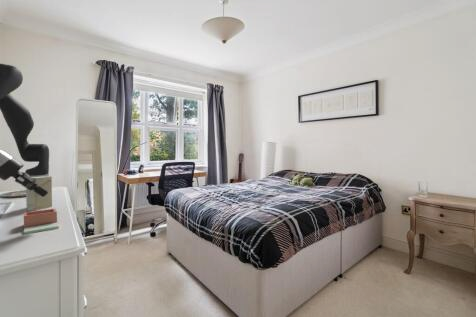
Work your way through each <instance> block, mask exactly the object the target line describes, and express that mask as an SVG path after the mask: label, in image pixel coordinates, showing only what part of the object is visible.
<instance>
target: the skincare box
mask: <svg viewBox="0 0 476 317" xmlns="http://www.w3.org/2000/svg"><path fill="white" fill-rule="evenodd" d="M31 178H32V179H33V180H34V181H35V183H36V184H38V185H39V186H40V187H41V188H43V189H44V190H46V191H47V192H48V193H47V194H46V195H45V196H44V197H42V196H41V195H39V194H38V193H36V192H34V191H31V190H29V189H28V188H27V204H26V210H27V211H40V210H47V209H51V208H53V186H52V185H53V184H52V183H53V182H52V178H53V177H52V176H41V177H31ZM32 185H33V184H32ZM32 185H31V186H32ZM31 186H30V187H31Z"/></svg>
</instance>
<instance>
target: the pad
mask: <svg viewBox="0 0 476 317" xmlns="http://www.w3.org/2000/svg"><path fill="white" fill-rule="evenodd" d="M59 228H60V226H59V224H58V222H57V223H51V224H44V225H38V226H32V227H26V228H24V227H23V235H26V234H33V233H39V232H44V231H49V230H55V229H59Z"/></svg>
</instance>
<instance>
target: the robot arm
mask: <svg viewBox="0 0 476 317" xmlns="http://www.w3.org/2000/svg"><path fill="white" fill-rule="evenodd" d="M23 77H24V76H23V74H22V71H21V70H20V69H19V67H16V66H13V65H11V64H5V63H0V112H1V113H2V116H3V119H4V120H5V121H4V122H5V123H6V125H7V127H8V129H9V130H10V132H11V135H12V137H13V139H14V141H15V144H16V148H17V150H18V152H19V153H18V154H19V156H20V158H21V159H22V160H23V161H24V162H28V163H29V162H30V163H32V162H33V163H35V162H36V163H37V162H38V164H37V165H36V166H33V167H31V168H27V169H26V170H25V172H23V171H22V172H21V171H20V170H21V169H23V167H24V164H23V163H22V162H21V161H19V160H18V159H16V158H15V157H13V156H11V155H10V154H9V153H7V152H6V151H4V150H2V149H0V179H1V180H2V181H6V180H8V179H10V178H11V177H12V178H13V179H15V180H14V182H15V183H17V184H18V185H21V186H22V187H24V188H25V193H26V197H25V198H26V199H25V201H26V202H25V203H26V205H27V188H28V189H29V190H31V191H34V192H36V193H38V194H39V195H41V196H42V197H44V196H45V195H46V194H47V193H48V192H47V191H46V190H44V189H43V188H41V187H40V186H39V185H38V184H36V183H35V181H34V180H33V179H32V178H31V177H41V176H49V173H50V170H49V169H50V150H49V146H48V144H44V143H29V142H28V137H29V136H30V135H29V134H31V133H32V131H33V128H34V126H35V123H34V122H35V121H34V119H33V117H32V114H31V112H30V111H29V109H28V108H27V107H26V106H25V105H24V104H23V103H22V102H20V100H18V99H17V98H15V97H14V96H13V94H11V93H12V92H15V90H17V89H18V88H20V86H21V85H22V84H23V81H24V78H23ZM32 184H33V185H32ZM31 185H32V186H31ZM30 186H31V187H30Z"/></svg>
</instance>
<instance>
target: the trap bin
mask: <svg viewBox="0 0 476 317" xmlns="http://www.w3.org/2000/svg"><path fill="white" fill-rule="evenodd" d="M51 223H58V211H57V209H56V208H47V209H41V210H32V211H25V212H23V229H24V228H26V227H32V226H38V225H44V224H51Z"/></svg>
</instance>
